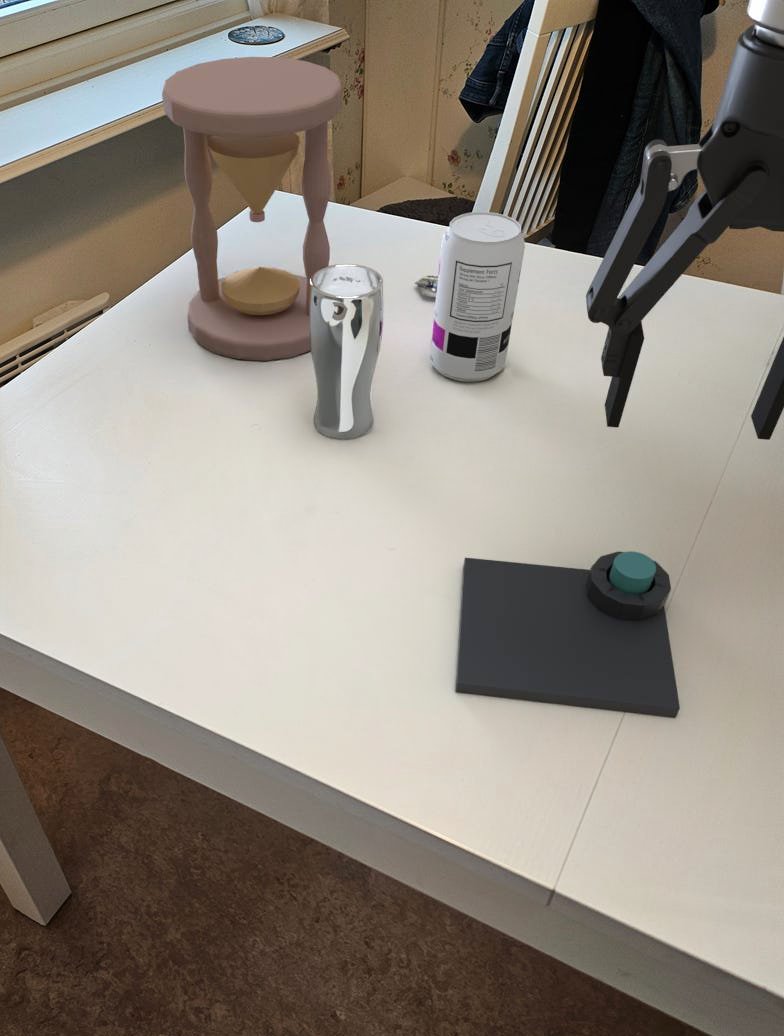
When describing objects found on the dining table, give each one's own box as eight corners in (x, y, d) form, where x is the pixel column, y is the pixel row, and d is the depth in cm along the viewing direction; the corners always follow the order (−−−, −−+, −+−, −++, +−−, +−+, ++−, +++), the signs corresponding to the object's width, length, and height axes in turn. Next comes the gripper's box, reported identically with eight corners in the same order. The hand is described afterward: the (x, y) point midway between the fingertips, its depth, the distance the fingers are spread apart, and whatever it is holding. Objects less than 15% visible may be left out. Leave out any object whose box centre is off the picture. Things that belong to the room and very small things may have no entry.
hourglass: (158, 337, 104) (124, 94, 85) (239, 276, 114) (224, 47, 96) (290, 376, 98) (284, 124, 79) (363, 308, 108) (373, 70, 90)
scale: (656, 582, 75) (666, 555, 73) (676, 718, 66) (688, 692, 63) (463, 563, 77) (467, 536, 75) (455, 693, 68) (459, 666, 65)
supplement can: (413, 363, 99) (425, 225, 88) (463, 338, 103) (481, 202, 92) (469, 393, 95) (489, 252, 84) (519, 365, 99) (544, 227, 88)
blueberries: (408, 281, 112) (410, 266, 111) (470, 275, 113) (472, 260, 112) (423, 307, 108) (424, 291, 107) (487, 300, 109) (489, 285, 107)
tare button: (648, 569, 73) (654, 553, 71) (652, 596, 71) (658, 580, 69) (607, 565, 73) (612, 549, 72) (610, 592, 71) (615, 576, 70)
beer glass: (389, 417, 92) (399, 274, 81) (353, 450, 88) (359, 306, 77) (333, 396, 95) (335, 256, 84) (295, 428, 91) (292, 285, 80)
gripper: (601, 45, 43) (522, 440, 60) (1095, 61, 41) (869, 469, 57) (592, 5, 48) (522, 379, 65) (1032, 17, 46) (841, 404, 62)
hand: (685, 421), depth 61 cm, fingers open, 9 cm apart
